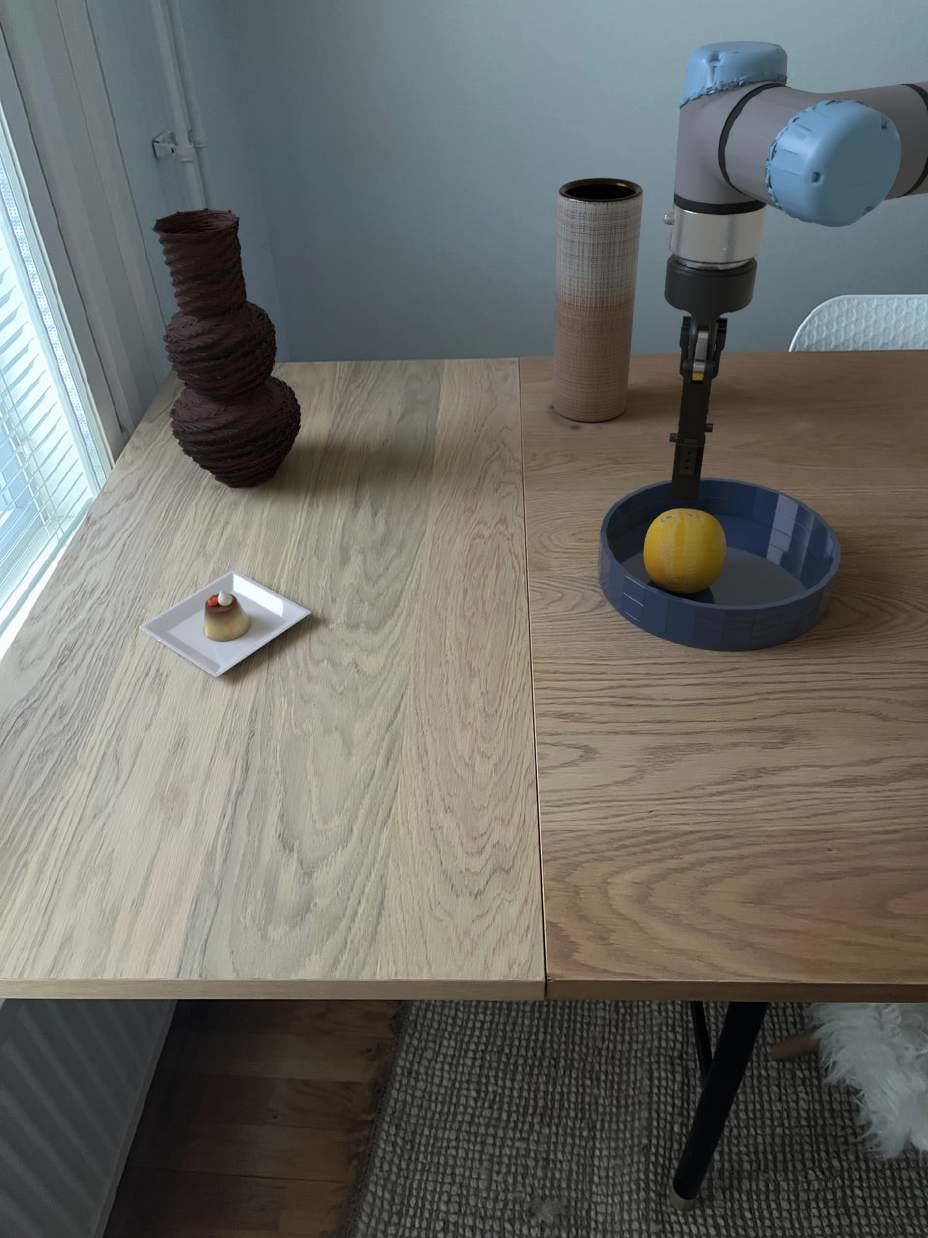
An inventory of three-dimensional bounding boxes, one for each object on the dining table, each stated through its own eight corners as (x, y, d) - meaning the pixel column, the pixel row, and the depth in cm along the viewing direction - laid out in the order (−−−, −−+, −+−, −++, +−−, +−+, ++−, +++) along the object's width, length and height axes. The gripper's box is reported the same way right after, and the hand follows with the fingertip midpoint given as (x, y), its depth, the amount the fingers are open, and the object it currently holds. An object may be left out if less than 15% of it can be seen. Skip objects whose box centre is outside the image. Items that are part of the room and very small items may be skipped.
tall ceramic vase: (594, 383, 134) (605, 172, 116) (641, 409, 127) (661, 189, 110) (537, 403, 130) (541, 187, 112) (583, 430, 123) (594, 205, 106)
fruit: (633, 559, 99) (639, 493, 94) (710, 556, 99) (720, 490, 94) (647, 611, 92) (654, 543, 87) (730, 608, 92) (742, 540, 87)
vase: (176, 509, 112) (106, 248, 93) (193, 446, 124) (134, 204, 105) (307, 498, 112) (264, 238, 94) (311, 437, 124) (274, 195, 105)
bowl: (825, 528, 104) (834, 488, 101) (835, 666, 86) (847, 624, 83) (613, 506, 109) (616, 468, 106) (582, 633, 91) (584, 592, 88)
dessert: (140, 635, 94) (128, 597, 90) (235, 577, 101) (226, 540, 98) (218, 686, 87) (207, 646, 84) (313, 620, 94) (306, 582, 91)
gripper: (673, 230, 86) (652, 461, 101) (661, 279, 76) (639, 526, 91) (759, 233, 84) (724, 467, 99) (757, 283, 75) (719, 534, 89)
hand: (683, 495), depth 95 cm, fingers closed
